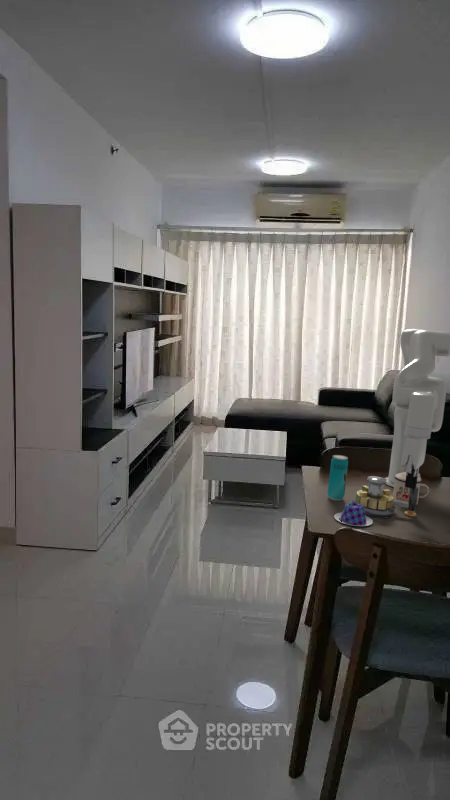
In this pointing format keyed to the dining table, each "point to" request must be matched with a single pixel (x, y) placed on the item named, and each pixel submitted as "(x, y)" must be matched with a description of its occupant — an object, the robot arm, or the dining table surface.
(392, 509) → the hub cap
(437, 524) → the dining table surface
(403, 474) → the teacup with lid
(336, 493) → the beverage can
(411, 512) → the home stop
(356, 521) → the pudding
